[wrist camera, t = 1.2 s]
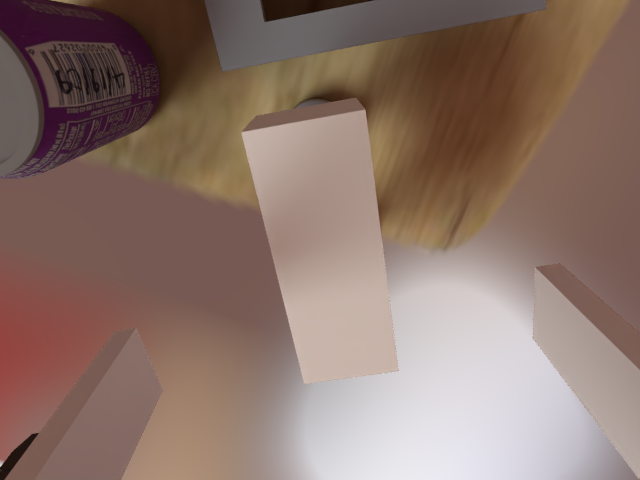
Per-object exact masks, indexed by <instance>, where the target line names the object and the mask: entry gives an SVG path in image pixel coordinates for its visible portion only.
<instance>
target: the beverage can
mask: <svg viewBox="0 0 640 480" xmlns="http://www.w3.org/2000/svg"><path fill="white" fill-rule="evenodd" d="M159 96H160V76H159V70H158V66H157V63H156V60H155V58H154V56H153V53H152V51H151V50H150V48H149V46H148V44H147V43H146V42H145V40H144V39H143V38H142V36H141V35H140V34H139V33H138V32H137V31H136V30H135V29H134V28H133V27H132V26H131V25H130V24H128V23H127V22H126V21H124V20H123V19H121V18H120V17H118V16H116V15H114V14H112V13H110V12H107V11H104V10H101V9H96V8H91V7H85V6H79V5H74V4H68V3H62V2H57V1H51V0H0V178H2V179H19V178H27V177H31V176H35V175H38V174H41V173H44V172H46V171H48V170H50V169H52V168H55V167H57V166H59V165H62V164H64V163H66V162H68V161H70V160H72V159H75V158H77V157H79V156H82V155H84V154H86V153H88V152H90V151H93V150H95V149H97V148H99V147H102V146H104V145H106V144H108V143H110V142H113V141H115V140H117V139H119V138H122V137H124V136H126V135H128V134H130V133H133V132H135V131H136V130H138V129H140V128H141V127H142V126H144V125H145V124H146V123H147V122H148V120H149V119H150V118H151V116H152V115H153V113H154V111H155V109H156V107H157V104H158V101H159Z"/></svg>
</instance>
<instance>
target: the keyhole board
mask: <svg viewBox="0 0 640 480" xmlns="http://www.w3.org/2000/svg"><path fill="white" fill-rule="evenodd" d="M204 1H205V5H206V9H207V13H208V17H209V21H210V25H211V29H212V33H213V37H214V41H215V45H216V49H217V53H218V57H219V61H220V64H221V68H222V72H224V71H229V70H234V69H240V68H245V67H250V66H255V65H260V64H265V63H271V62H276V61H281V60H286V59H291V58H296V57H302V56H307V55H312V54H317V53H322V52H328V51H333V50H338V49H343V48H348V47H353V46H359V45H364V44H369V43H374V42H379V41H384V40H390V39H395V38H400V37H405V36H410V35H416V34H421V33H426V32H431V31H436V30H441V29H447V28H452V27H457V26H462V25H467V24H472V23H478V22H483V21H488V20H493V19H498V18H504V17H509V16H514V15H519V14H524V13H529V12H535V11H540V10H545V9H546V0H373V1H368V2H363V3H358V4H353V5H348V6H343V7H338V8H333V9H328V10H324V11H319V12H314V13H309V14H304V15H299V16H294V17H289V18H284V19H279V20H274V21H269V22H266V17H265V12H264V8H263V3H262V0H204Z"/></svg>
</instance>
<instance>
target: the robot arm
mask: <svg viewBox="0 0 640 480" xmlns="http://www.w3.org/2000/svg"><path fill="white" fill-rule="evenodd" d="M533 339H534V340H535V342H536V343H537V344H538V346H539V347H540V348H541V349H542V351H543V352H544V354H545V355H546V356H547V357H548V359H549V360H550V362H551V363H552V364H553V365H554V367H555V368H556V369H557V371H558V372H559V374H560V375H561V376H562V377H563V379H564V380H565V382H566V383H567V384H568V386H569V387H570V388H571V389H572V391H573V392H574V393H575V395H576V396H577V397H578V399H579V400H580V401H581V403H582V404H583V405H584V407H585V408H586V409H587V411H588V412H589V413H590V415H591V416H592V417H593V419H595V421H596V423H597V424H598V425H599V427H600V428H601V429H602V430H603V432H604V433H605V435H606V436H607V437H608V438H609V440H610V441H611V442H612V444H613V445H614V447H615V448H616V449H617V451H618V452H619V453H620V454H621V456H622V457H623V458H624V460H625V461H626V462H627V464H628V465H629V466H630V468H631V469H632V470H633V472H634V473H635V474H636V476H637V477H638V478H639V480H640V332H639V331H638V330H637V329H635V328H634V327H633V326H632V325H631V324H630V323H628V322H627V321H626V320H625V319H624V318H623V317H622V316H620V315H619V314H618V313H617V312H616V311H615V310H613V309H612V308H611V307H610V306H609V305H608V304H606V303H605V302H604V301H603V300H602V299H600V297H598V296H597V295H596V294H595V293H593V291H591V290H590V289H589V288H588V287H587V286H586V285H584V284H583V283H582V282H581V281H580V280H579V279H578V278H576V277H575V276H574V275H573V274H572V273H571V272H570V271H568V270H567V269H566V268H565V267H564V266H563V265H561V264H560V263H559V264H553V265H546V266H540V267H535V288H534V317H533ZM162 391H163V390H162V388H161V385H160V383H159V380H158V378H157V376H156V374H155V371H154V369H153V366H152V364H151V362H150V359H149V357H148V354H147V352H146V350H145V347H144V345H143V343H142V341H141V338H140V336H139V333H138V331H137V329H136V328H133V329H126V330H120V331H114V333H113V334H112V335H111V337H110V338H109V340H108V341H107V342H106V343H105V345H104V346H103V347H102V349H101V350H100V351H99V353H98V354H97V356H96V357H95V358H94V360H93V361H92V362H91V364H90V365H89V366H88V368H87V369H86V370H85V372H84V373H83V374H82V376H81V377H80V378H79V380H78V381H77V383H76V384H75V385H74V387H73V388H72V389H71V391H70V392H69V393H68V395H67V396H66V397H65V399H64V400H63V402H62V403H61V404H60V405H59V407H58V409H57V410H56V411H55V412H54V414H53V415H52V416H51V418H50V419H49V420H48V422H47V423H46V425H45V426H44V427H43V429H42V430H41V431H40V432H39V433H36V434H32V435H31V436H30V437H28V438H27V439H26V440H25V441H24V442H23V443H22V444H21V445H19V446H18V447H17V448H16V449H15V450H14V451H13V452H12V453H11V454H10V456H9V457H8V458H7V460H6V461H5V462H4V463H3V465H2V466H1V467H0V480H121V479H122V476H123V474H124V472H125V470H126V468H127V466H128V463H129V461H130V459H131V457H132V455H133V453H134V451H135V448H136V446H137V444H138V442H139V440H140V438H141V436H142V433H143V431H144V429H145V427H146V425H147V423H148V421H149V419H150V416H151V414H152V412H153V410H154V408H155V406H156V404H157V401H158V399H159V397H160V395H161V393H162Z"/></svg>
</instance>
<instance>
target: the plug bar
mask: <svg viewBox="0 0 640 480" xmlns="http://www.w3.org/2000/svg"><path fill="white" fill-rule="evenodd" d="M241 133H242V137H243V141H244V145H245V149H246V153H247V157H248V161H249V165H250V169H251V173H252V177H253V181H254V185H255V189H256V193H257V197H258V201H259V205H260V209H261V213H262V217H263V221H264V225H265V228H266V233H267V237H268V241H269V245H270V249H271V253H272V257H273V261H274V265H275V269H276V273H277V277H278V281H279V285H280V288H281V293H282V296H283V301H284V304H285V308H286V313H287V317H288V320H289V325H290V328H291V333H292V337H293V340H294V345H295V348H296V352H297V356H298V360H299V365H300V369H301V373H302V376H303V381H304V384H308V383H316V382H322V381H330V380H337V379H345V378H352V377H359V376H366V375H373V374H381V373H388V372H395V371H398V363H397V355H396V347H395V340H394V331H393V323H392V316H391V308H390V300H389V292H388V284H387V276H386V268H385V261H384V254H383V253H384V252H383V244H382V237H381V229H380V221H379V213H378V205H377V197H376V189H375V181H374V173H373V166H372V158H371V150H370V142H369V134H368V126H367V118H366V110H365V108H364V107H363V106H362V105H361V103H360V102H359V101H358V99H357V98H351V99H345V100H340V101H334V102H330V101H328V100H325V99H320V98H312V99H308V100H305V101H302V102H301V103H299V104H298V105H296V106H295V107H294V108H293V109H291V110H286V111H280V112H275V113H269V114H264V115H259V116H256V117H255V118H254V119H253V120H252V121H251V122H250V123H249V124H248V125H247V127H246V128H245V129H244V130H243V131H242V132H241Z"/></svg>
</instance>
